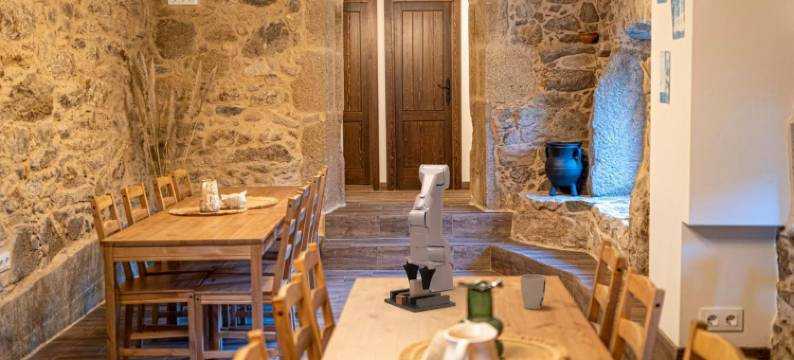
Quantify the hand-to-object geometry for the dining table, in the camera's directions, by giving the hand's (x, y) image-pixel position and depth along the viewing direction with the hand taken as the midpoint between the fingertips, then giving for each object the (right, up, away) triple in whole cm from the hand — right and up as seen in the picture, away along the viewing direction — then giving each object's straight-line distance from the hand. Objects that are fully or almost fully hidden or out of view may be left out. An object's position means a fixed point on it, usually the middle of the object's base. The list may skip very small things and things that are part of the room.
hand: (419, 287), depth 296 cm
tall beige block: (0, -4, 0) cm, 4 cm away
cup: (+36, -6, -6) cm, 37 cm away
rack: (0, -5, +1) cm, 5 cm away
